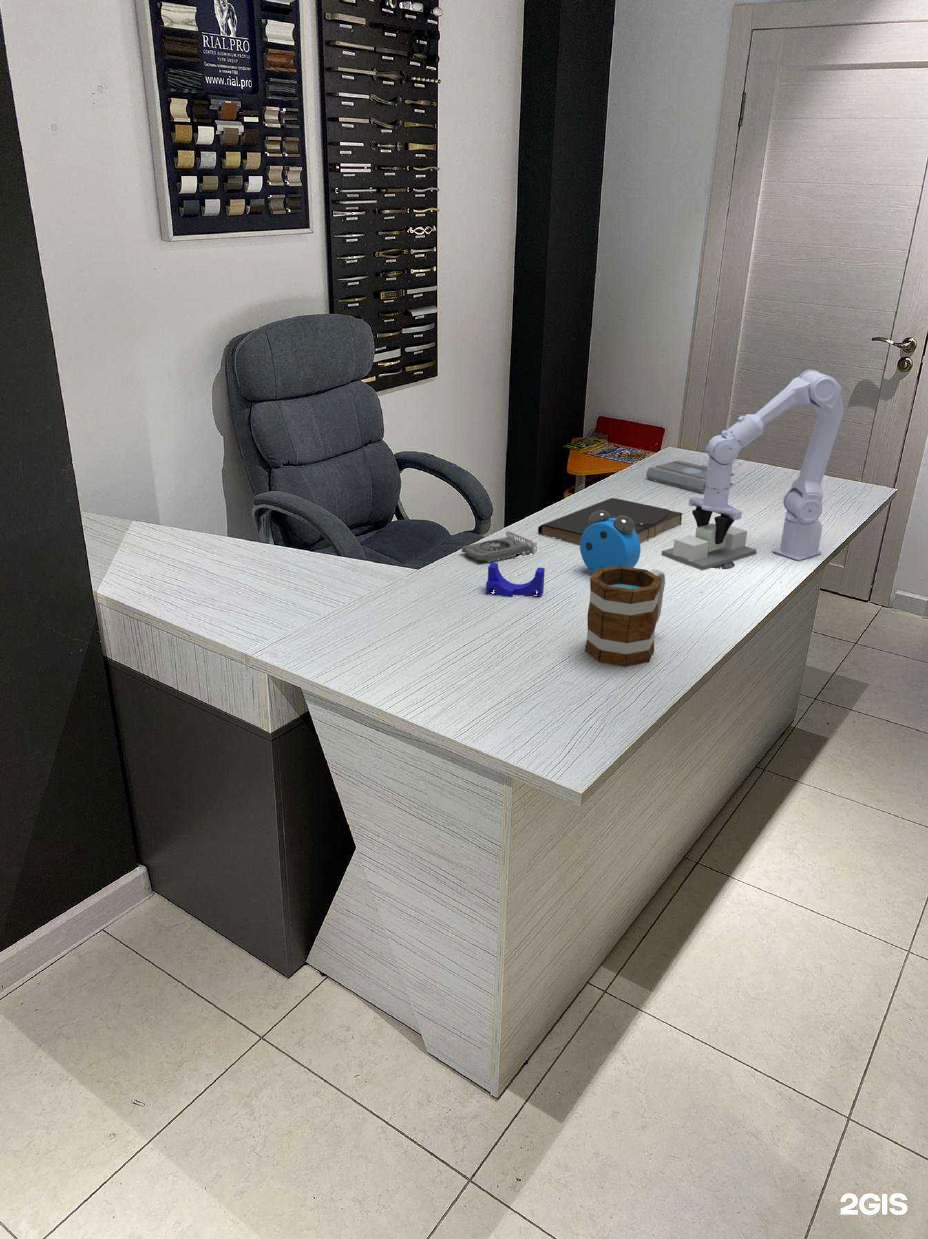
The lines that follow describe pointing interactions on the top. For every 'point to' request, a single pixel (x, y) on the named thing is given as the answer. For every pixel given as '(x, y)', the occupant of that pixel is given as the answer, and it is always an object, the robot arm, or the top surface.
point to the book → (681, 475)
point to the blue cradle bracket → (510, 589)
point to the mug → (623, 614)
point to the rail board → (714, 557)
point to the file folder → (643, 516)
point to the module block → (709, 536)
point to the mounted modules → (698, 548)
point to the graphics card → (500, 548)
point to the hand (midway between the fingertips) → (710, 540)
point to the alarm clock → (609, 542)
